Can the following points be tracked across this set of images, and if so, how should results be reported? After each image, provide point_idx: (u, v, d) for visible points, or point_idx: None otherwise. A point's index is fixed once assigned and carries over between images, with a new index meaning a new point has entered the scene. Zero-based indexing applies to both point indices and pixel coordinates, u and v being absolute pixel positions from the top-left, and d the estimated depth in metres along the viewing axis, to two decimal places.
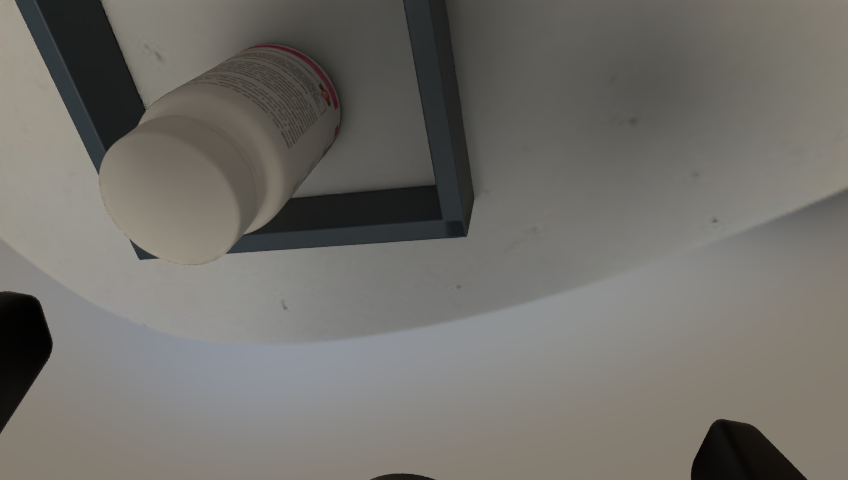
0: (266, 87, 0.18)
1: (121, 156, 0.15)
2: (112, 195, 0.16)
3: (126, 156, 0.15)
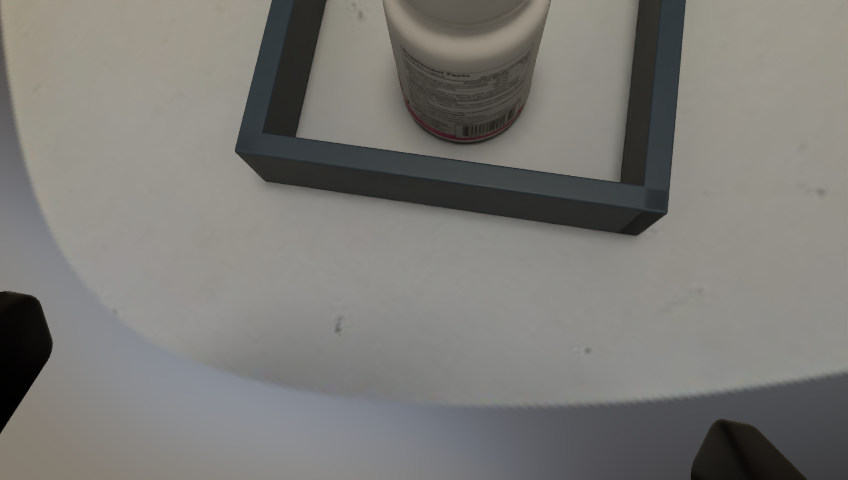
0: None
1: None
2: None
3: None
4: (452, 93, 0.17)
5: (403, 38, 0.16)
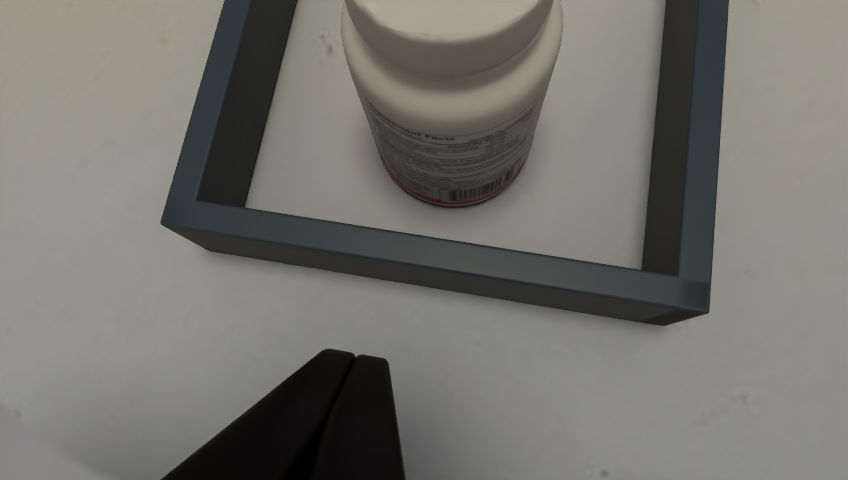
0: None
1: None
2: None
3: None
4: (433, 156, 0.14)
5: (367, 91, 0.12)
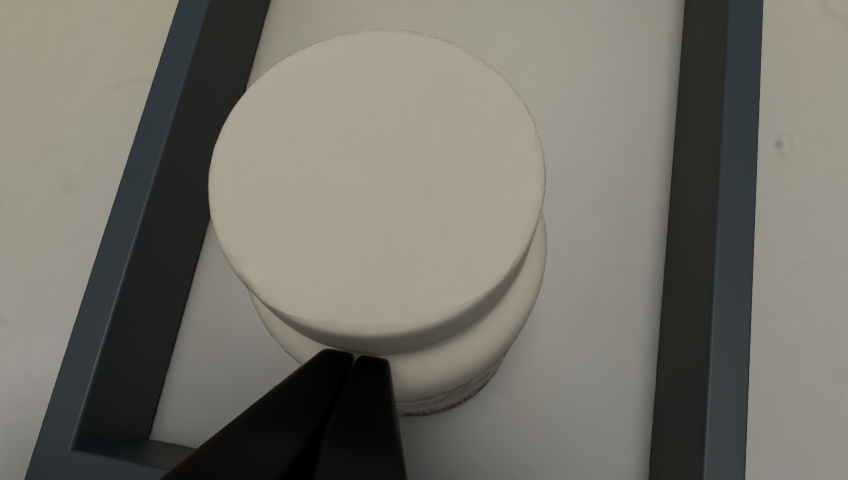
0: None
1: (343, 55, 0.07)
2: (258, 117, 0.07)
3: (352, 56, 0.07)
4: None
5: (274, 337, 0.09)
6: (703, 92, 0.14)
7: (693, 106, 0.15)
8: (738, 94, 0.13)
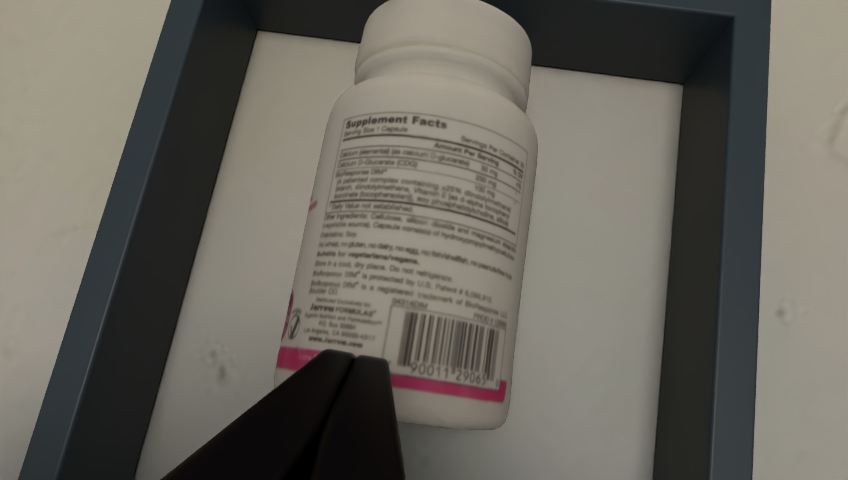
0: None
1: None
2: None
3: None
4: (409, 176, 0.11)
5: (356, 95, 0.12)
6: (697, 276, 0.13)
7: (686, 283, 0.13)
8: (735, 300, 0.11)
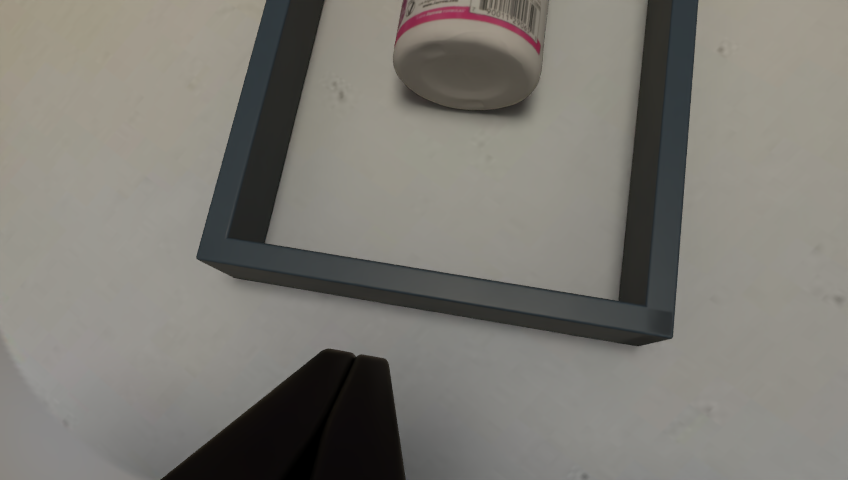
0: None
1: None
2: None
3: None
4: None
5: None
6: (661, 5, 0.20)
7: (655, 17, 0.20)
8: (682, 1, 0.18)
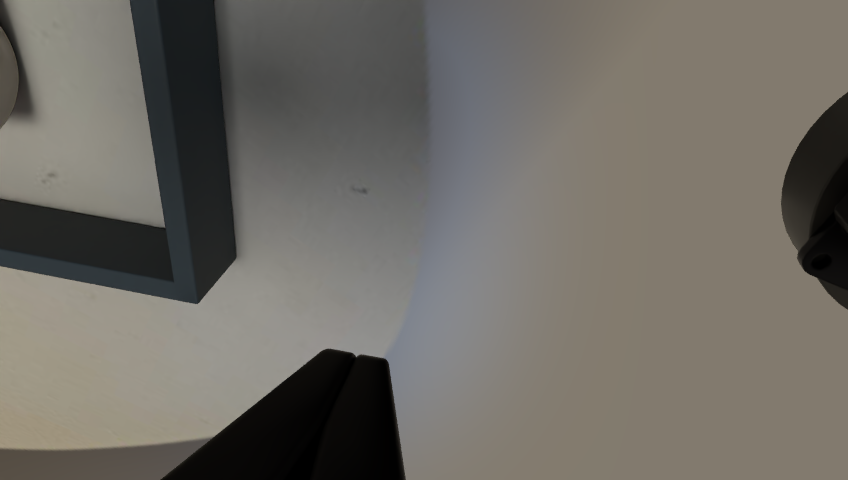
0: None
1: None
2: None
3: None
4: None
5: None
6: None
7: None
8: None
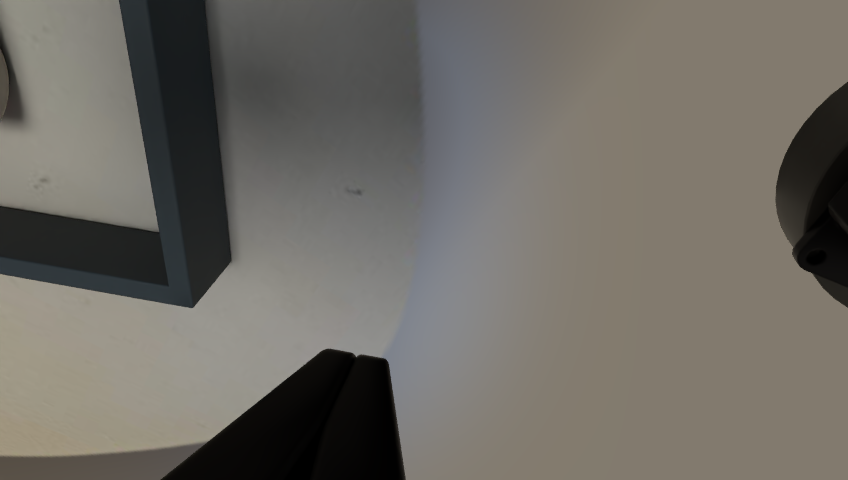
0: None
1: None
2: None
3: None
4: None
5: None
6: None
7: None
8: None
